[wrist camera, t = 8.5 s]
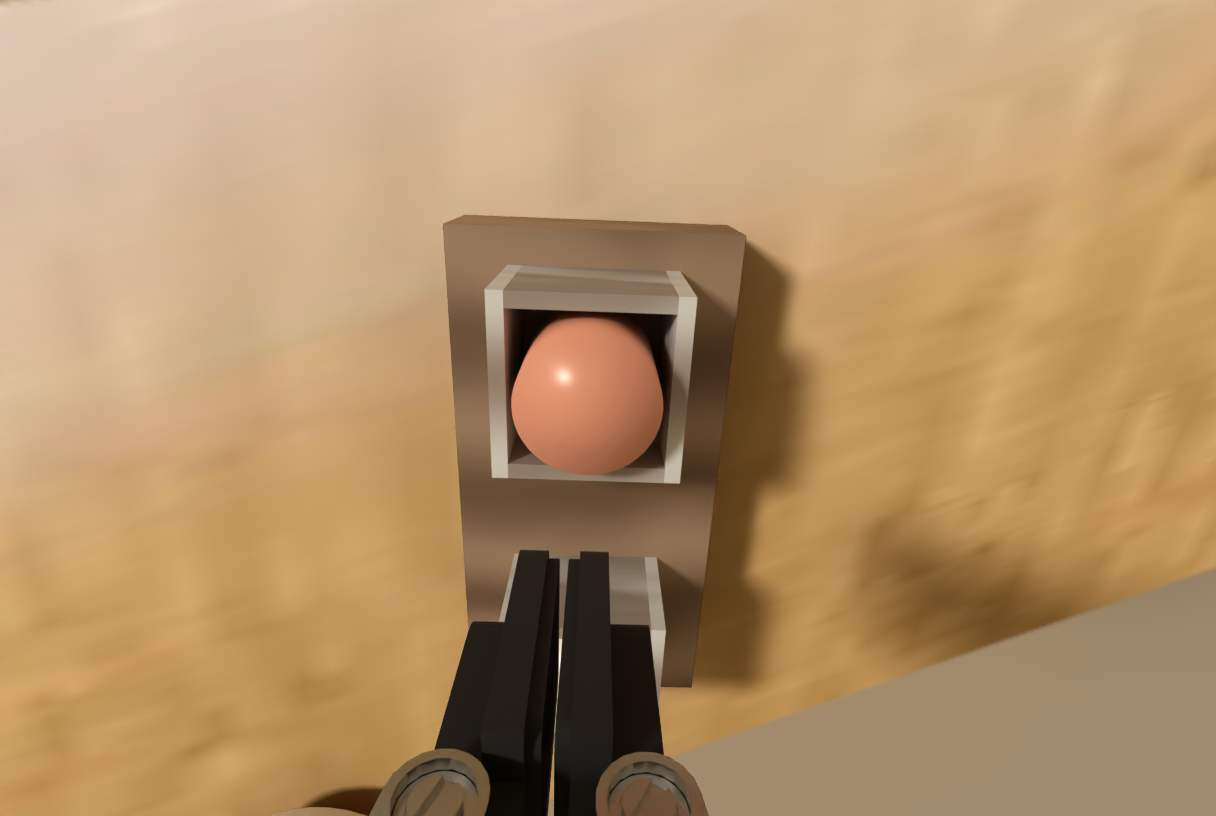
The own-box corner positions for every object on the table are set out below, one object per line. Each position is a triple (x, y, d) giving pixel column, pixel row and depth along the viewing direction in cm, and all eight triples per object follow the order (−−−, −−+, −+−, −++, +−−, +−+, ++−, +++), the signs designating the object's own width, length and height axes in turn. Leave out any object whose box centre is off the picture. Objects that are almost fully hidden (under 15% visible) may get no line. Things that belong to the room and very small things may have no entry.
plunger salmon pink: (648, 419, 26) (658, 477, 21) (529, 415, 25) (512, 472, 21) (656, 302, 24) (668, 337, 19) (528, 297, 24) (509, 331, 19)
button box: (682, 634, 37) (705, 773, 29) (485, 629, 37) (450, 767, 28) (727, 225, 28) (779, 254, 19) (464, 215, 28) (403, 239, 19)
